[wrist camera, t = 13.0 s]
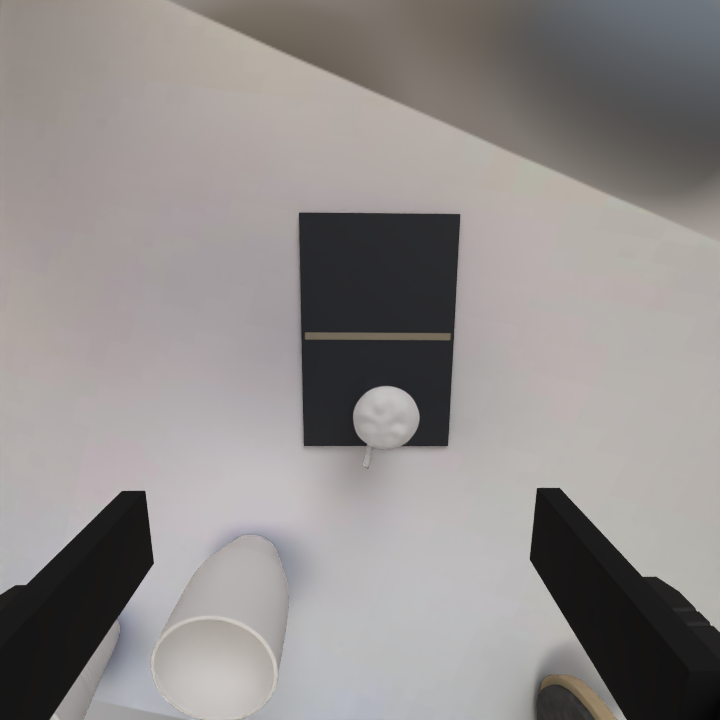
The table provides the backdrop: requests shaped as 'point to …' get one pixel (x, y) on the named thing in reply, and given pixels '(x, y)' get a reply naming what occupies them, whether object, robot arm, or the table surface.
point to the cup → (88, 680)
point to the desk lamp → (570, 700)
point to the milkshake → (384, 413)
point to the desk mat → (376, 317)
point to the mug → (225, 634)
